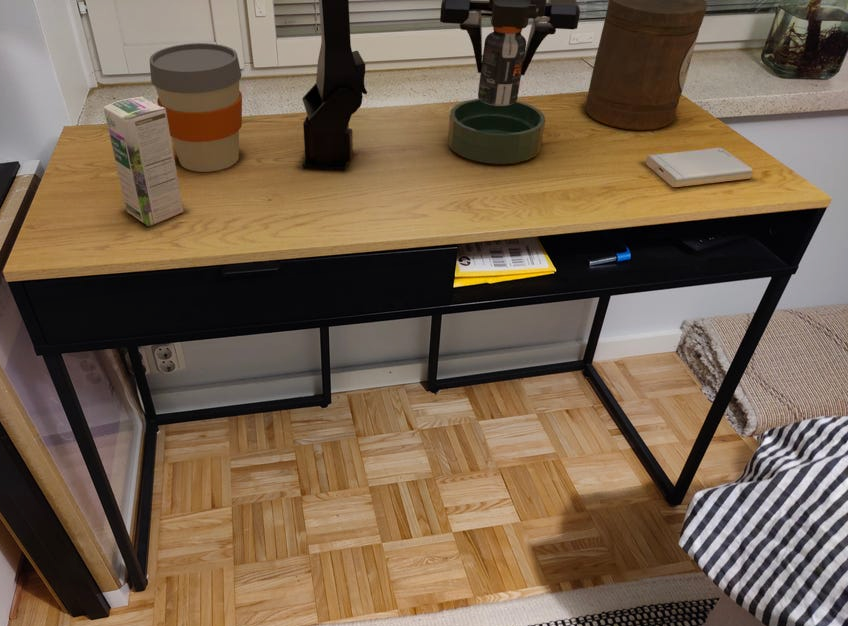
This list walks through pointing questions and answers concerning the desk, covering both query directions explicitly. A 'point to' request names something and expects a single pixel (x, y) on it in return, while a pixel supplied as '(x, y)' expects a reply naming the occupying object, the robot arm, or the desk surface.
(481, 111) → the bowl
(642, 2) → the wooden container
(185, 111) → the reusable coffee cup
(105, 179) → the desk surface
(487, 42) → the pill bottle
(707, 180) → the hard drive
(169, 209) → the syrup box
